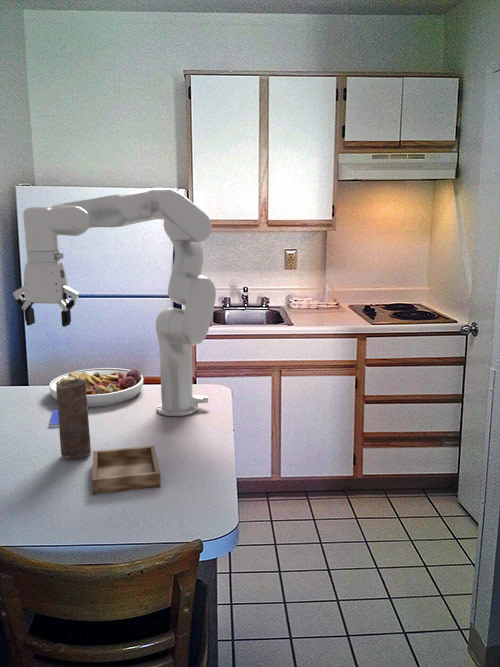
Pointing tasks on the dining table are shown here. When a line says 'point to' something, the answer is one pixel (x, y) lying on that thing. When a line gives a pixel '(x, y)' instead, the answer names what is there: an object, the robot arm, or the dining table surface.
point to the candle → (73, 418)
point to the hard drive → (54, 419)
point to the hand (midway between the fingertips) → (48, 325)
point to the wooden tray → (125, 470)
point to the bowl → (104, 385)
